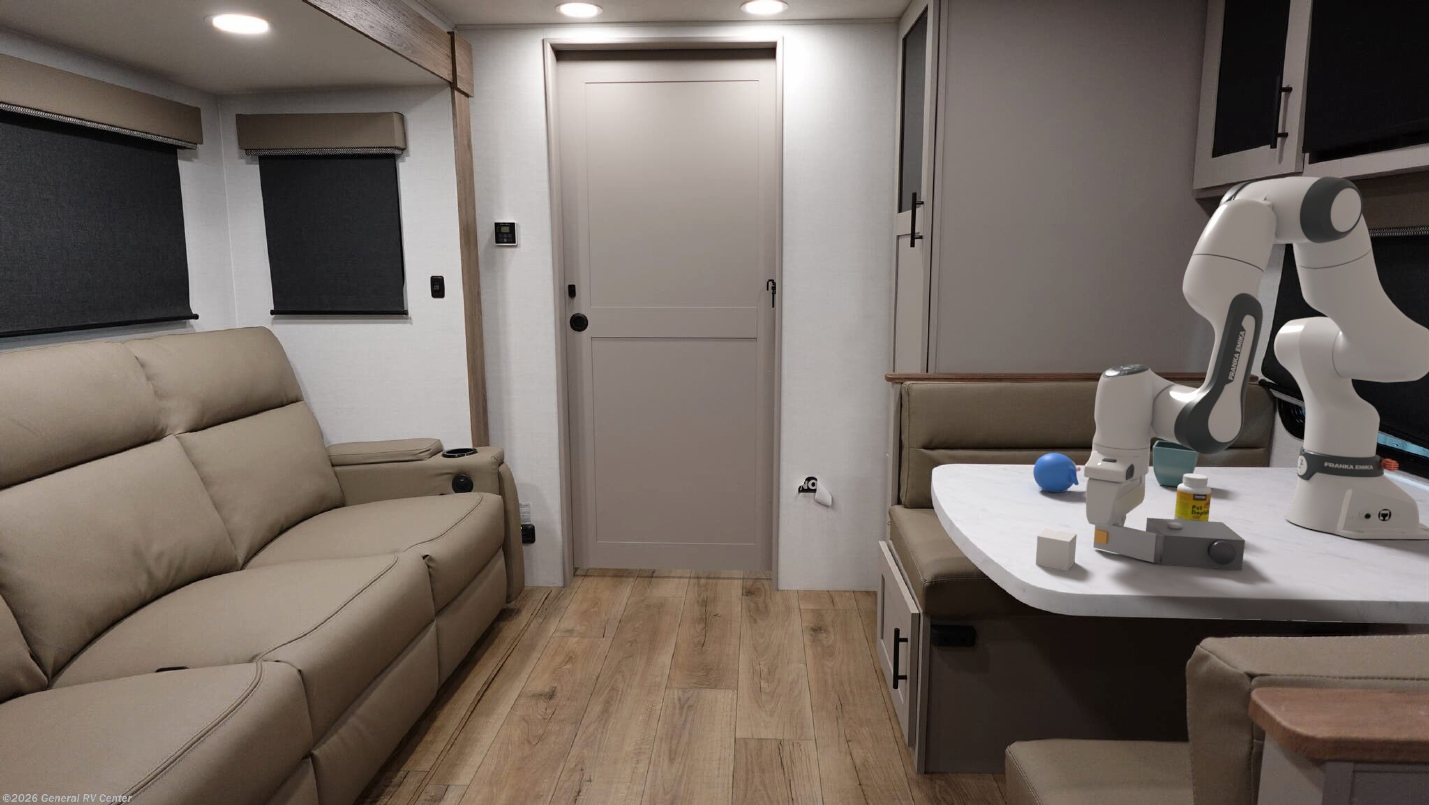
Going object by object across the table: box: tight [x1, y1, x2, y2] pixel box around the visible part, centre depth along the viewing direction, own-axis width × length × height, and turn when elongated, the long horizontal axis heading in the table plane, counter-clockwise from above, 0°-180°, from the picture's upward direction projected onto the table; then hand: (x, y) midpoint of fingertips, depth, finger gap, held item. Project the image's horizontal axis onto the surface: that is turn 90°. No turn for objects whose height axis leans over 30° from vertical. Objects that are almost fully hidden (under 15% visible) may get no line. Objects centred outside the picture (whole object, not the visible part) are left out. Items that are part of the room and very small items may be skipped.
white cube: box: [1035, 528, 1078, 571], centre depth 142 cm, size 5×5×5 cm
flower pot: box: [1152, 440, 1200, 488], centre depth 193 cm, size 9×9×9 cm
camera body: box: [1145, 517, 1246, 571], centre depth 144 cm, size 12×12×6 cm
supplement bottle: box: [1173, 473, 1212, 521], centre depth 160 cm, size 6×6×10 cm
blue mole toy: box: [1032, 452, 1082, 493], centre depth 187 cm, size 12×12×8 cm
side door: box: [1093, 524, 1162, 564], centre depth 145 cm, size 2×11×5 cm, turn 42°
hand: (1114, 539), depth 149 cm, fingers closed
